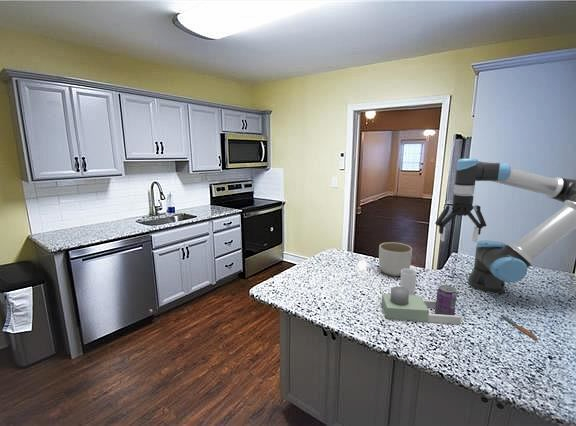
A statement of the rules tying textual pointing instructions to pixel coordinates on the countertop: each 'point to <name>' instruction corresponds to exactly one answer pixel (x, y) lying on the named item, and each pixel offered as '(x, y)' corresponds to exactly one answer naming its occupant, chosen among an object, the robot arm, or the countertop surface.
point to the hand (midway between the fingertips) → (458, 241)
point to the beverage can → (446, 300)
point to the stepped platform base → (412, 308)
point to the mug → (408, 280)
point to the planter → (394, 257)
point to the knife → (521, 329)
